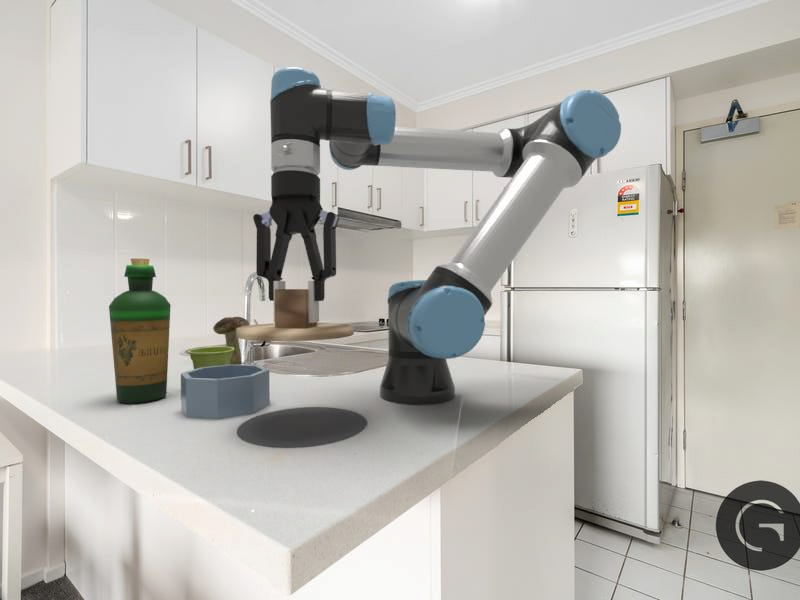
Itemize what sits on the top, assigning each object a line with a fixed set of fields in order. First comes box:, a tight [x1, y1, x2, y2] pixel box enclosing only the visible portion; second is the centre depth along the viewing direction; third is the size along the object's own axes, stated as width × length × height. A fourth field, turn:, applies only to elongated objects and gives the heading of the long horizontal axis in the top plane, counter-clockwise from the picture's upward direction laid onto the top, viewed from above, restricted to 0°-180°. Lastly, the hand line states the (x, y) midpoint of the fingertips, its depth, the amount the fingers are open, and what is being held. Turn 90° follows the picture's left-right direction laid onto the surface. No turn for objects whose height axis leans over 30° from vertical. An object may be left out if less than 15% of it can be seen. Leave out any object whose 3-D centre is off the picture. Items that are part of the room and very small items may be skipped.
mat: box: [236, 406, 368, 449], centre depth 68 cm, size 20×20×1 cm
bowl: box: [180, 364, 271, 421], centre depth 78 cm, size 14×14×7 cm
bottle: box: [108, 258, 172, 405], centre depth 86 cm, size 11×11×28 cm
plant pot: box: [187, 346, 234, 370], centre depth 95 cm, size 9×9×9 cm
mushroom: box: [212, 316, 250, 365], centre depth 110 cm, size 9×9×15 cm
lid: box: [236, 288, 355, 342], centre depth 68 cm, size 18×18×7 cm
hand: (296, 321), depth 68 cm, fingers closed on lid, 5 cm apart
